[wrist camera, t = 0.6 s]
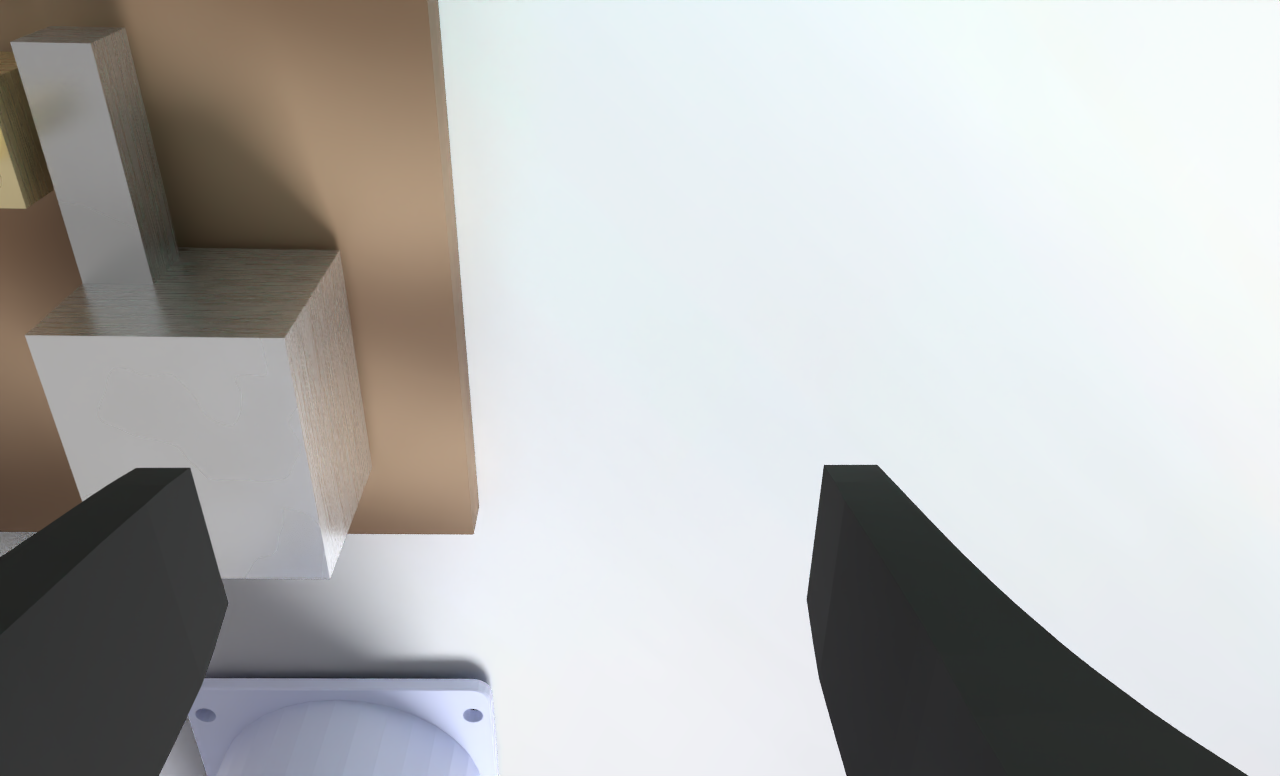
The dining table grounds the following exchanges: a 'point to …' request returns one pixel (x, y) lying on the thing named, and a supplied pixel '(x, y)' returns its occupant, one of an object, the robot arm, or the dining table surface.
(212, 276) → the gauge carriage
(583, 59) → the dining table surface
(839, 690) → the robot arm
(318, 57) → the base
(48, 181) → the peak needle
